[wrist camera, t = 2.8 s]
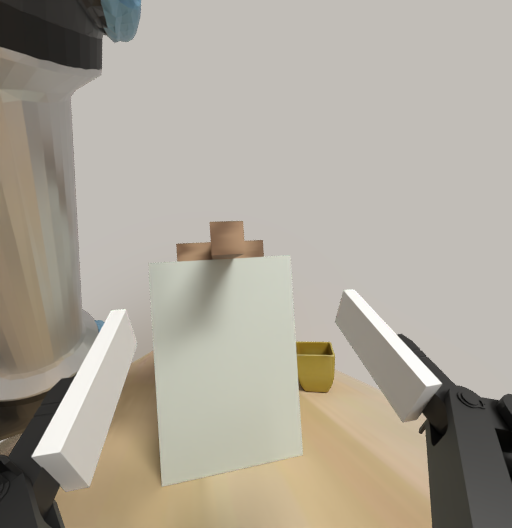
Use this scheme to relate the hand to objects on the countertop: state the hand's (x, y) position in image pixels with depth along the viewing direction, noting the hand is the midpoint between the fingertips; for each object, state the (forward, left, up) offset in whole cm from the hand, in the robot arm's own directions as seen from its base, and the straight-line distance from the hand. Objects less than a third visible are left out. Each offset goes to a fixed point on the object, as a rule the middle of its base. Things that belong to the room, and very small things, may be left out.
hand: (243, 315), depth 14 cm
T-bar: (0, +17, +4) cm, 18 cm away
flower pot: (+20, +36, -26) cm, 48 cm away
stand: (0, +24, -26) cm, 35 cm away
